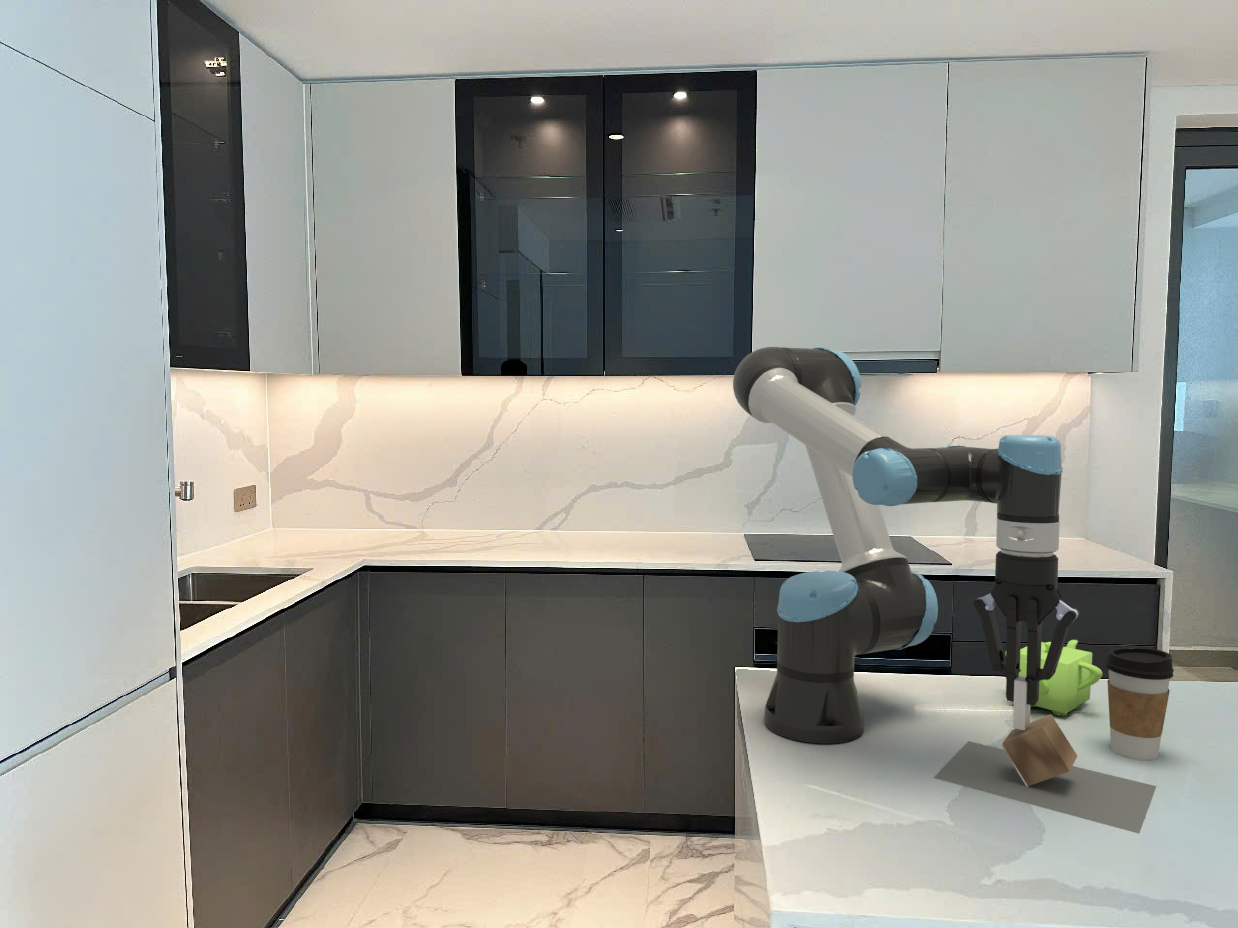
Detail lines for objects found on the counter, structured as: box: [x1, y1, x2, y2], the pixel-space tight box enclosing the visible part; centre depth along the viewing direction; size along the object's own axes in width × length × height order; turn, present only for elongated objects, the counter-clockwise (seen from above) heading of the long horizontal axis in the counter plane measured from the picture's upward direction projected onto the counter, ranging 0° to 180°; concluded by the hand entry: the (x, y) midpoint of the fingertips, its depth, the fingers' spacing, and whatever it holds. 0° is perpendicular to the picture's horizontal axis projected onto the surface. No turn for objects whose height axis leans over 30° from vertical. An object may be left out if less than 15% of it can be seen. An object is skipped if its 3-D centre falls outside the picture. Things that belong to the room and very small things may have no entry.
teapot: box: [1004, 639, 1103, 716], centre depth 147 cm, size 15×13×11 cm
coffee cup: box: [1105, 647, 1175, 761], centre depth 127 cm, size 8×8×15 cm
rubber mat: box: [933, 740, 1157, 835], centre depth 117 cm, size 24×16×1 cm, turn 53°
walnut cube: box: [1000, 713, 1078, 787], centre depth 118 cm, size 6×6×6 cm
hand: (1021, 726), depth 118 cm, fingers closed
